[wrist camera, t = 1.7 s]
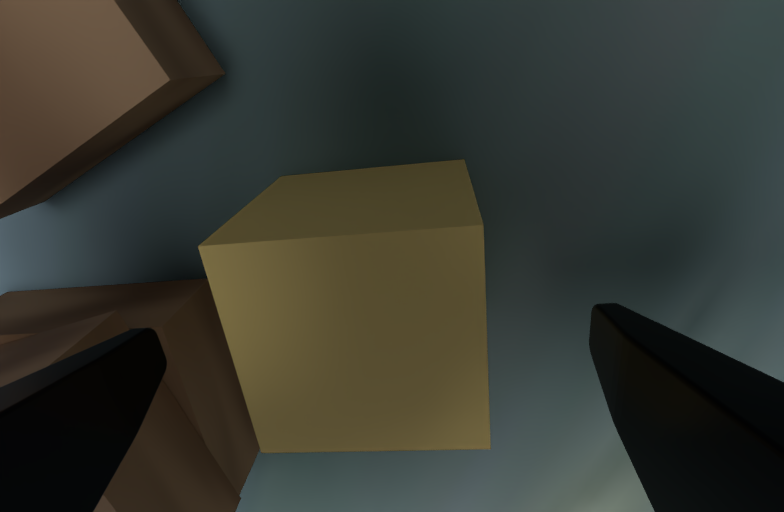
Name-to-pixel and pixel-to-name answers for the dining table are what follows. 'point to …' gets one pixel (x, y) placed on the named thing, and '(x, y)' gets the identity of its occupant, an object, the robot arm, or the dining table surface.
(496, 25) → the dining table surface
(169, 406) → the walnut slab upper
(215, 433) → the walnut slab lower
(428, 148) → the dining table surface
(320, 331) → the mustard cube
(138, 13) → the walnut slab
